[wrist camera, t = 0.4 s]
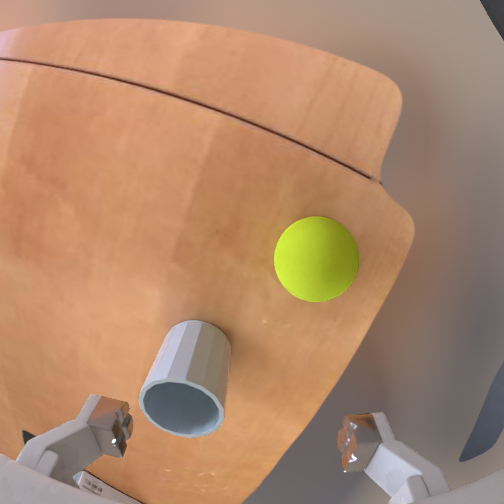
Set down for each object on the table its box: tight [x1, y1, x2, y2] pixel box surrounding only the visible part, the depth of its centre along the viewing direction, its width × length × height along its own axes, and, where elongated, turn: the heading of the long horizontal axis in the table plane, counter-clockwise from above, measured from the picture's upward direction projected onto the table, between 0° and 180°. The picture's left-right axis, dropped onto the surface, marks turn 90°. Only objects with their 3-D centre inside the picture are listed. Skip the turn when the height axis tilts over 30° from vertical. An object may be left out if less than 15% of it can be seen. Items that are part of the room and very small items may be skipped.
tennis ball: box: [274, 216, 359, 302], centre depth 24 cm, size 7×7×7 cm
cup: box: [138, 320, 231, 438], centre depth 26 cm, size 7×7×9 cm
